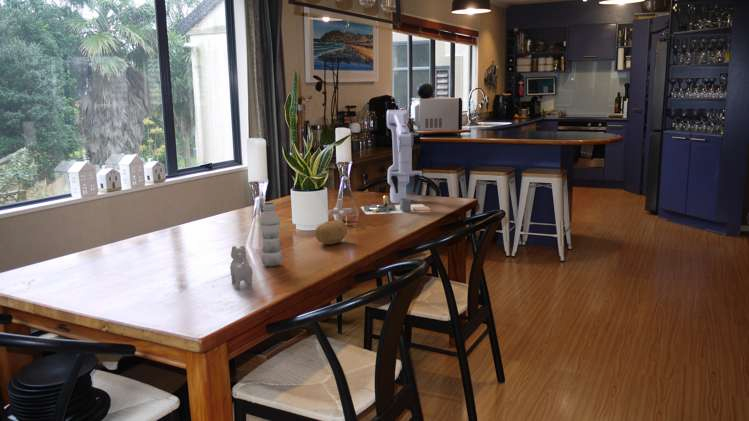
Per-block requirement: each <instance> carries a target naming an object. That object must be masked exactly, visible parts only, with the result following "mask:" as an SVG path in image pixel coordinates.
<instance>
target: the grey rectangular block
mask: <svg viewBox="0 0 749 421" xmlns="http://www.w3.org/2000/svg"><path fill="white" fill-rule="evenodd" d="M411 201H412V200H410V199H409V198H407V197H406V198H402V199H400V203H399V205H400V210H401V211H402V212H407V213H412V212H411V204H412V202H411Z"/></svg>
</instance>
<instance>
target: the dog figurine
mask: <svg viewBox="0 0 749 421" xmlns="http://www.w3.org/2000/svg"><path fill="white" fill-rule="evenodd" d="M245 247H246V246H244V245H240V246H239V247H237V246H236V245H235V246H231V251H230V257H231V259H232V261H231V263H230V265H229V266H230V268H229V269H230V277H231V284H233V285H235V289H234V290H235V291H240V287H241V285H240V284H241V282H242V281H243V282H245V283H248V287H247V289H253V287H254V286H253V268H252V266H251V265H250V262H249V261H248V260H247V252H246V248H245Z"/></svg>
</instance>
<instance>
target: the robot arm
mask: <svg viewBox="0 0 749 421" xmlns="http://www.w3.org/2000/svg"><path fill="white" fill-rule="evenodd" d="M409 118H410V114H409V110H408V109H387V111H386V127H387V129H389V130H390V131H391V139H392V141H391V142H392V162H393V163H392V165H390V166H389V167H388V169H387V184H388V185H390V189H389V200H390V202H391V203H393V204H400V199H402V198H407V186H408V184H409V183H410V177H411V179H412V189H411V190H412V193H413V194H414V193H416V190H417V186H418V183H419V181H420V179H421V177H422V176H423V171H422V170H413V168H412V167H413V166H412V162H413V159H412V158H413V157H412V154H413V146H414V135H413V133H411V132H410V128H409V126H408V123H409V121H410V120H409Z"/></svg>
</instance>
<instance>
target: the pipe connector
mask: <svg viewBox="0 0 749 421" xmlns="http://www.w3.org/2000/svg"><path fill="white" fill-rule="evenodd" d="M336 200H337V202H336V203H337V204H336V205H337V207H333V209H329V210H327V215H337V220H340V221H343V217H345V216H347V213H349V214H350V213H352V211H353V209H352V207H347V208H346V207H345V208H343V200H342V199H341V198H339V199H336Z"/></svg>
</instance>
